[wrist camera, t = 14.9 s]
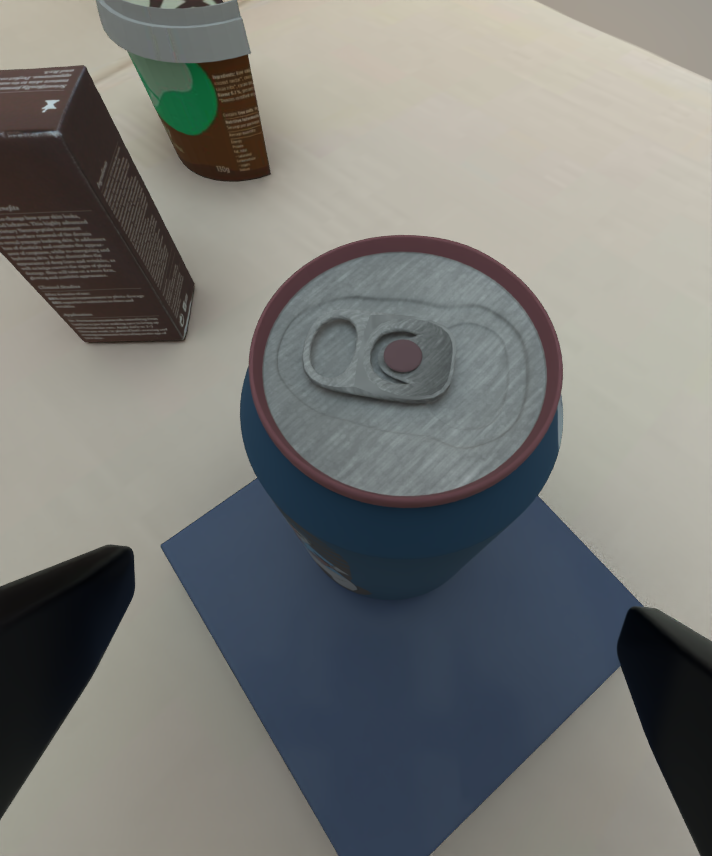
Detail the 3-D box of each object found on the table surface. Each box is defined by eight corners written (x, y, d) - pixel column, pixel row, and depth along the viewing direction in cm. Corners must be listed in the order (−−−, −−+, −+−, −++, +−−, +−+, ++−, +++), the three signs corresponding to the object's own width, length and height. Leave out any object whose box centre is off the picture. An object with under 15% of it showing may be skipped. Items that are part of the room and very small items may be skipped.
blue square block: (624, 627, 20) (662, 625, 18) (372, 871, 17) (371, 914, 15) (411, 396, 25) (415, 367, 23) (185, 557, 22) (159, 545, 20)
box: (197, 280, 29) (88, 58, 18) (185, 343, 27) (57, 139, 16) (98, 282, 29) (-68, 64, 18) (80, 345, 27) (-117, 144, 16)
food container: (138, 113, 36) (56, -70, 27) (216, 86, 37) (163, -98, 28) (191, 220, 31) (114, 44, 22) (279, 187, 32) (240, 5, 23)
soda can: (480, 449, 21) (599, 231, 10) (464, 620, 18) (602, 582, 7) (323, 423, 22) (270, 195, 11) (284, 583, 19) (158, 498, 8)
